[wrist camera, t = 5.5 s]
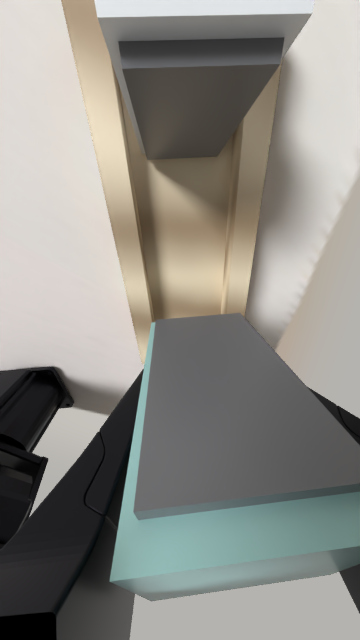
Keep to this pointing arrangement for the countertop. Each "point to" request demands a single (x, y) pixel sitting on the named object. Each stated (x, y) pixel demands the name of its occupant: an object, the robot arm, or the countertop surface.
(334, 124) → the countertop surface
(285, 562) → the teal block
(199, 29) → the grey rectangular block
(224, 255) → the wooden tray
